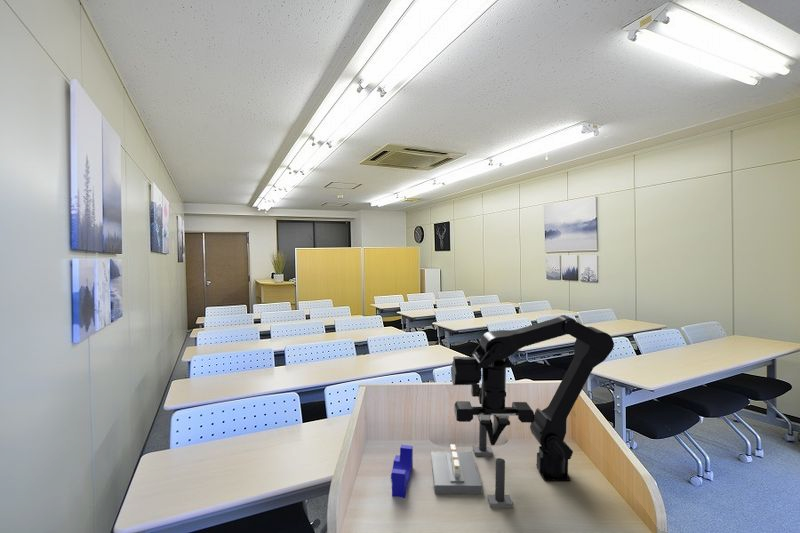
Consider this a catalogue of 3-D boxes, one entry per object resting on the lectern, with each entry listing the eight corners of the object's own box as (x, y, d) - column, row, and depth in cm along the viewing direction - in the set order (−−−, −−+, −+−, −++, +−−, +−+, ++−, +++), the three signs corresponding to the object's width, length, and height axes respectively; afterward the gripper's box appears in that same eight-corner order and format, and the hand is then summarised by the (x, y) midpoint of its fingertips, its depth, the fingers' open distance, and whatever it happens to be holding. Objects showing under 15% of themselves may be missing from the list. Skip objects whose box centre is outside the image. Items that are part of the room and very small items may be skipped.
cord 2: (509, 498, 87) (509, 457, 86) (512, 508, 84) (513, 465, 83) (487, 498, 87) (487, 456, 86) (490, 507, 84) (490, 464, 83)
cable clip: (395, 465, 100) (395, 444, 100) (412, 467, 99) (412, 445, 99) (385, 496, 88) (385, 471, 88) (404, 498, 88) (404, 474, 87)
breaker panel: (471, 458, 103) (472, 450, 103) (481, 493, 89) (481, 484, 89) (431, 458, 103) (431, 450, 103) (434, 493, 89) (434, 484, 89)
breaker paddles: (454, 454, 101) (454, 443, 100) (459, 478, 91) (459, 466, 90) (450, 454, 101) (450, 443, 100) (454, 478, 91) (454, 466, 90)
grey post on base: (490, 449, 107) (491, 415, 106) (492, 456, 104) (493, 420, 103) (472, 449, 107) (473, 415, 106) (474, 455, 104) (475, 420, 103)
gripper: (522, 372, 102) (520, 428, 103) (452, 371, 102) (451, 427, 103) (535, 389, 90) (533, 451, 92) (457, 388, 91) (456, 450, 92)
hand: (492, 444), depth 95 cm, fingers closed
